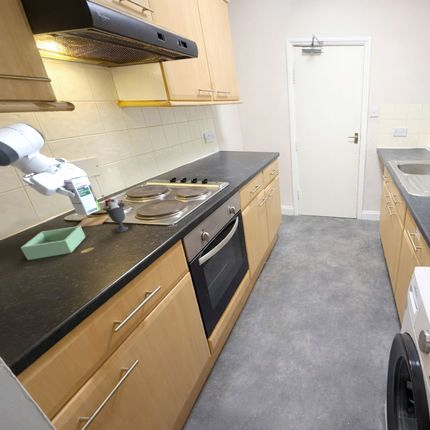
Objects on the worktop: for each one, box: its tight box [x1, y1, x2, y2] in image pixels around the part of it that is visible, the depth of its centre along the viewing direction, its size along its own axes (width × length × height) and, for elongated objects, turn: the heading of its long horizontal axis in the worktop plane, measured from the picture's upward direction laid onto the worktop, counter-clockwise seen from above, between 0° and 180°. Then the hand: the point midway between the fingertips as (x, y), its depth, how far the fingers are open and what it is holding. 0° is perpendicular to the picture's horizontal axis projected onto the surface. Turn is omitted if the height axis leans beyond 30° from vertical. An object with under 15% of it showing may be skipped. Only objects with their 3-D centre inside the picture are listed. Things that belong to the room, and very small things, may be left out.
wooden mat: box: [76, 214, 110, 228], centre depth 110 cm, size 9×9×1 cm
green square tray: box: [20, 225, 86, 261], centre depth 90 cm, size 11×11×5 cm
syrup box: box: [64, 176, 102, 216], centre depth 105 cm, size 6×6×14 cm
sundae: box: [101, 194, 129, 233], centre depth 100 cm, size 7×7×15 cm
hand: (82, 192), depth 105 cm, fingers closed on syrup box, 7 cm apart
